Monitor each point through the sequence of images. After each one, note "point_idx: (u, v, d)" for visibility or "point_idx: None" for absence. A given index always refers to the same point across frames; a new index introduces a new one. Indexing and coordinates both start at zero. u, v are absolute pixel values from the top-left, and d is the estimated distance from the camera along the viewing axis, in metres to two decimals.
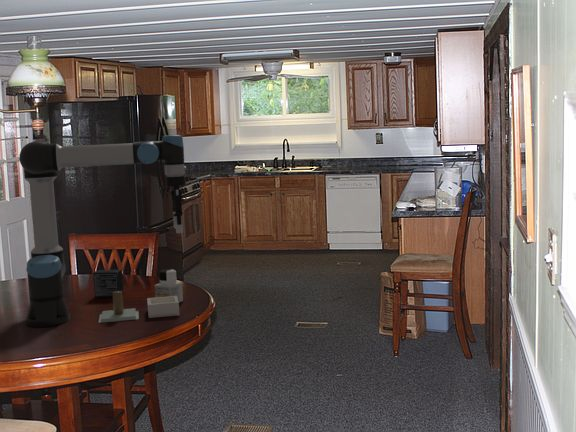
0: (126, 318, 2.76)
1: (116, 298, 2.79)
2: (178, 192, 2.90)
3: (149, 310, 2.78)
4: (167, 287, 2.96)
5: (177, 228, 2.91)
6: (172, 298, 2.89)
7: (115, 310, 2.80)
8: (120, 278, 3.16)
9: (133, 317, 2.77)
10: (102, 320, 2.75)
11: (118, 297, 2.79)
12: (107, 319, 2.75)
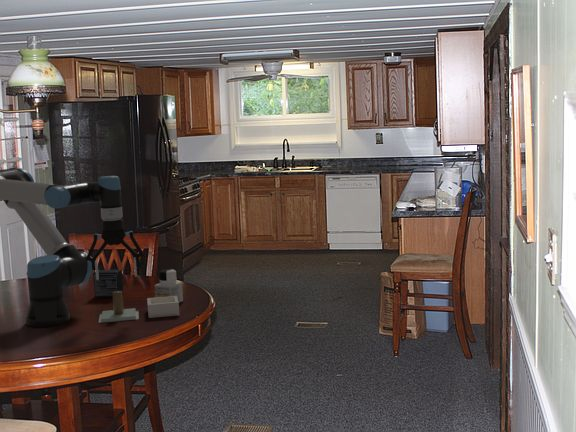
0: (126, 318, 2.76)
1: (116, 298, 2.79)
2: None
3: (149, 310, 2.78)
4: (167, 287, 2.96)
5: None
6: (172, 298, 2.89)
7: (115, 310, 2.80)
8: (120, 278, 3.16)
9: (133, 317, 2.77)
10: (102, 320, 2.75)
11: (118, 297, 2.79)
12: (107, 319, 2.75)
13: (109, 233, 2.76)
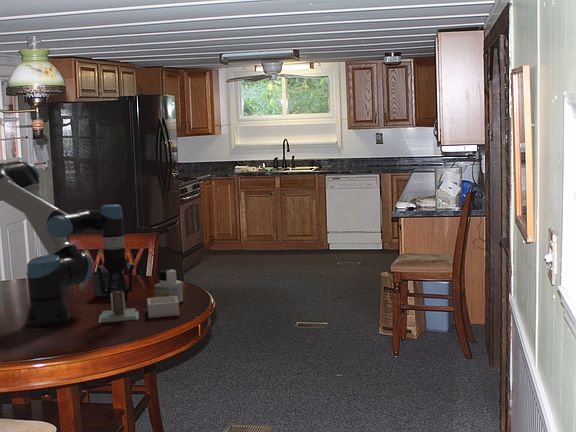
0: (126, 318, 2.76)
1: (116, 298, 2.79)
2: (97, 270, 2.78)
3: (149, 310, 2.78)
4: (167, 287, 2.96)
5: None
6: (172, 298, 2.89)
7: (115, 310, 2.80)
8: None
9: (133, 317, 2.77)
10: (102, 320, 2.75)
11: (118, 297, 2.79)
12: (107, 319, 2.75)
13: (109, 259, 2.77)
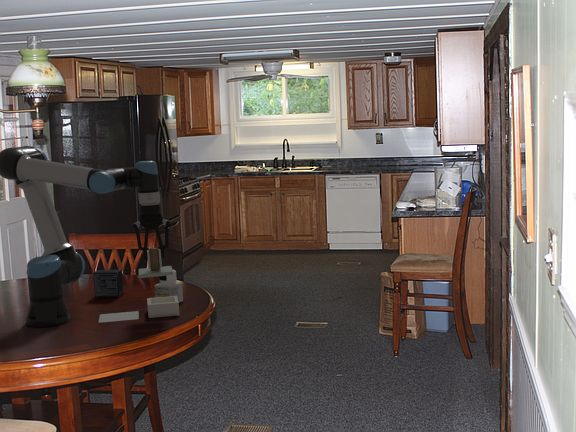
0: (163, 274, 2.76)
1: (153, 255, 2.79)
2: (134, 227, 2.78)
3: (149, 310, 2.78)
4: (167, 287, 2.96)
5: None
6: (172, 298, 2.89)
7: (152, 266, 2.80)
8: (120, 278, 3.16)
9: (170, 273, 2.77)
10: (139, 276, 2.75)
11: (155, 253, 2.79)
12: (144, 275, 2.75)
13: (145, 216, 2.78)
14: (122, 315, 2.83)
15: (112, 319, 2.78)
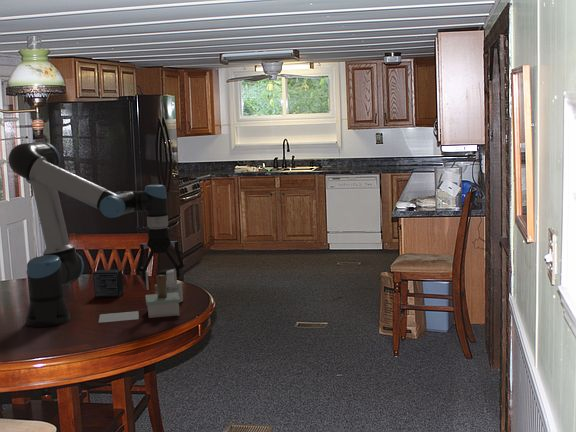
0: (170, 301, 2.79)
1: (160, 282, 2.81)
2: (140, 247, 2.80)
3: (149, 310, 2.78)
4: (167, 287, 2.96)
5: None
6: None
7: (159, 293, 2.82)
8: (120, 278, 3.16)
9: (177, 300, 2.79)
10: (147, 303, 2.77)
11: (162, 280, 2.81)
12: (152, 302, 2.77)
13: (154, 240, 2.80)
14: (122, 315, 2.83)
15: (112, 319, 2.78)
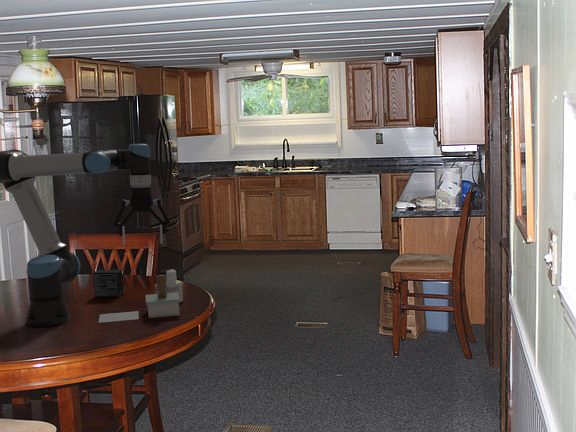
0: (170, 301, 2.79)
1: (160, 282, 2.81)
2: (122, 203, 2.82)
3: (149, 310, 2.78)
4: (167, 287, 2.96)
5: None
6: None
7: (159, 293, 2.82)
8: (120, 278, 3.16)
9: (177, 300, 2.79)
10: (147, 303, 2.77)
11: (162, 280, 2.81)
12: (152, 302, 2.77)
13: (137, 200, 2.82)
14: (122, 315, 2.83)
15: (112, 319, 2.78)
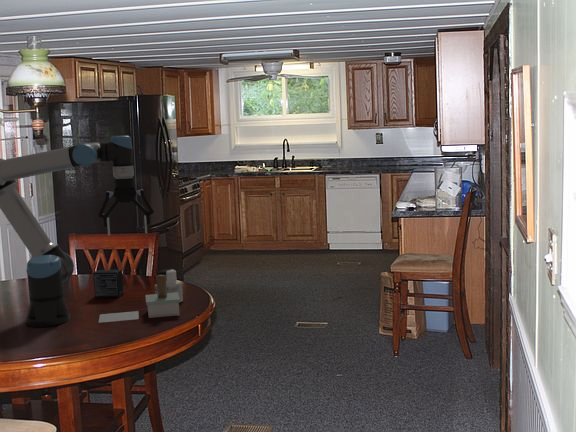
0: (170, 301, 2.79)
1: (160, 282, 2.81)
2: None
3: (149, 310, 2.78)
4: (167, 287, 2.96)
5: None
6: None
7: (159, 293, 2.82)
8: (120, 278, 3.16)
9: (177, 300, 2.79)
10: (147, 303, 2.77)
11: (162, 280, 2.81)
12: (152, 302, 2.77)
13: (121, 191, 2.86)
14: (122, 315, 2.83)
15: (112, 319, 2.78)
